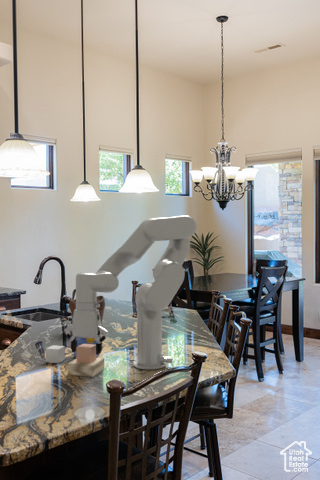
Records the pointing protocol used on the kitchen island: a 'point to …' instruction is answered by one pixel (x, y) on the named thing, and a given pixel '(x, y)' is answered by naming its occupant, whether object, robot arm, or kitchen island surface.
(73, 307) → the brown tapered pot
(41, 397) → the kitchen island surface
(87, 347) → the terracotta cube
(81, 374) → the maple base block
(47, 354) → the pale grey cube
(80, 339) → the ink cartridge box
